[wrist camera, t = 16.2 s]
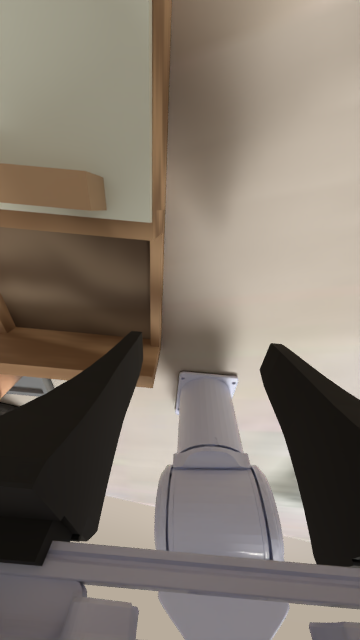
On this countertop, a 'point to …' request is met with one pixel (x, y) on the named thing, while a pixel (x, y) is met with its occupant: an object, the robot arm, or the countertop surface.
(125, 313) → the cold frame
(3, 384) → the pot
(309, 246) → the countertop surface
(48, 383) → the tray
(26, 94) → the lid
